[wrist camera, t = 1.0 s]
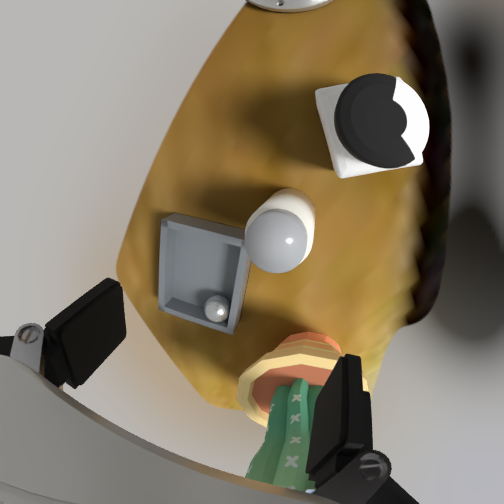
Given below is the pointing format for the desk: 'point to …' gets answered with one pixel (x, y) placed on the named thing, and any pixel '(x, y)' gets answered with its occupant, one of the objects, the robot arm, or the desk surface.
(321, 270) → the desk surface
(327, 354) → the potted cactus
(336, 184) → the desk surface
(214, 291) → the tray
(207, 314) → the steel ball
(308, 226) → the shaker
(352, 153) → the medicine bottle
